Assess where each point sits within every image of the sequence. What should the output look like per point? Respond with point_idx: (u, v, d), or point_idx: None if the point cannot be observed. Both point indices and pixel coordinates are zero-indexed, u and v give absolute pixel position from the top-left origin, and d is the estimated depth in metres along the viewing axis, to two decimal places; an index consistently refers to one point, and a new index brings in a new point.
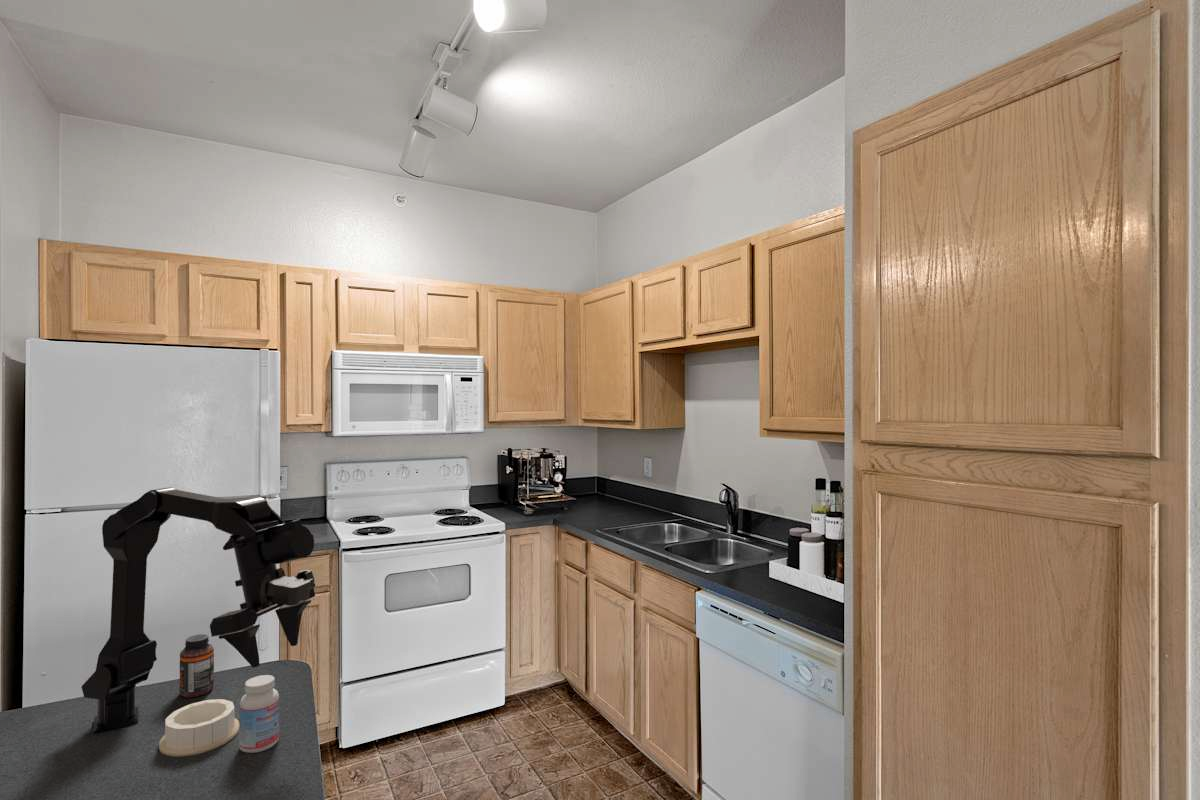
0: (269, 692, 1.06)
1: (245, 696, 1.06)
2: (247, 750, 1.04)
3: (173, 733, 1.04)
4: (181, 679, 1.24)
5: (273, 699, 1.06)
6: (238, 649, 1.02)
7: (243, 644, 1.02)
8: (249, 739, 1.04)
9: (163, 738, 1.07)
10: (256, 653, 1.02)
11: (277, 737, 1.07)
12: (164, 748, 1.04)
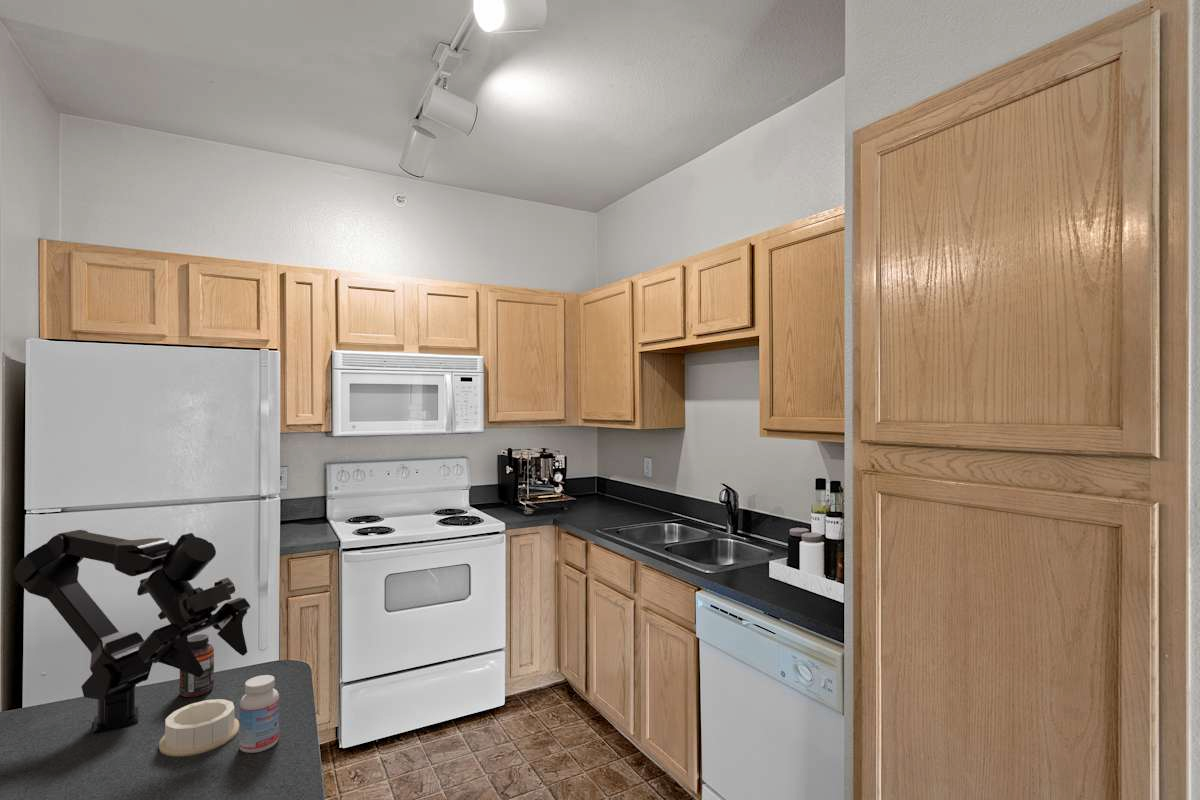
0: (269, 692, 1.06)
1: (245, 696, 1.06)
2: (247, 750, 1.04)
3: (173, 733, 1.04)
4: (181, 679, 1.24)
5: (273, 699, 1.06)
6: (178, 666, 1.04)
7: (180, 659, 1.04)
8: (249, 739, 1.04)
9: (163, 738, 1.07)
10: (195, 662, 1.04)
11: (277, 737, 1.07)
12: (164, 748, 1.04)
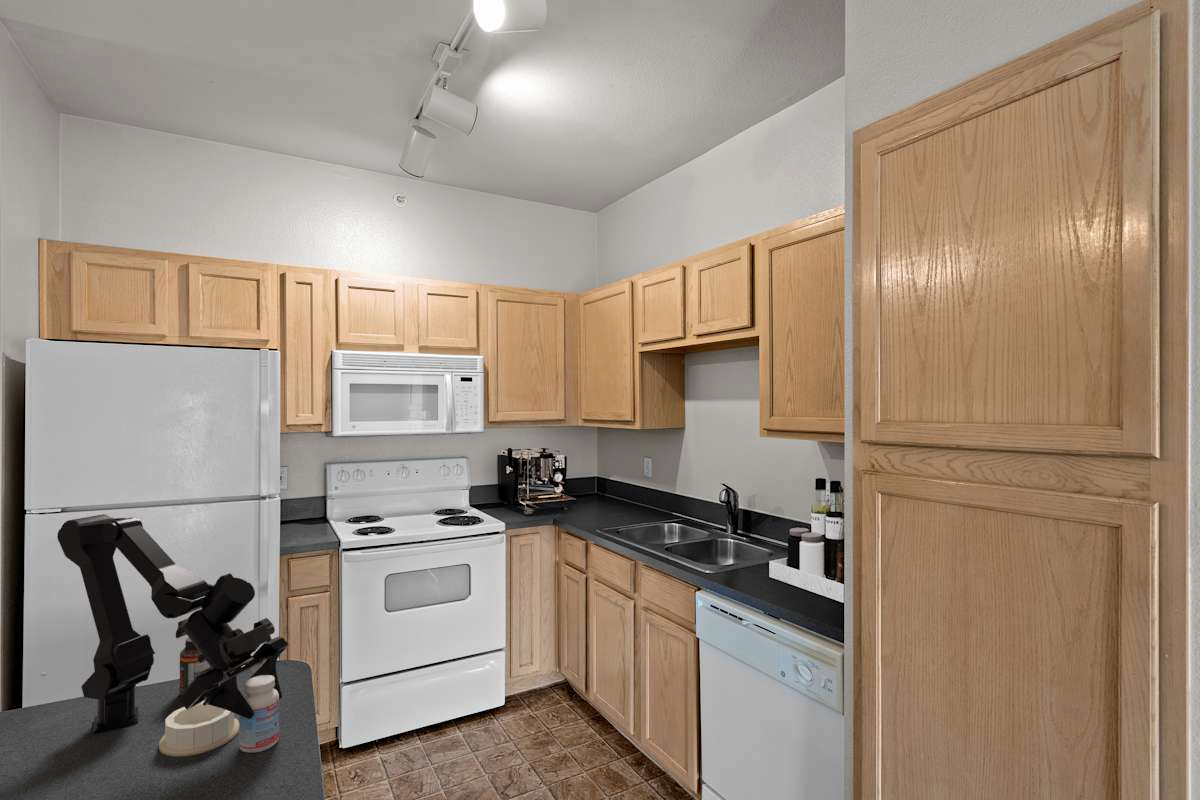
0: (269, 692, 1.06)
1: (245, 696, 1.06)
2: (247, 750, 1.04)
3: (173, 733, 1.04)
4: (181, 679, 1.24)
5: (273, 699, 1.06)
6: (228, 708, 1.03)
7: (230, 701, 1.03)
8: (249, 738, 1.04)
9: (163, 738, 1.07)
10: (245, 704, 1.03)
11: (277, 737, 1.07)
12: (164, 748, 1.04)
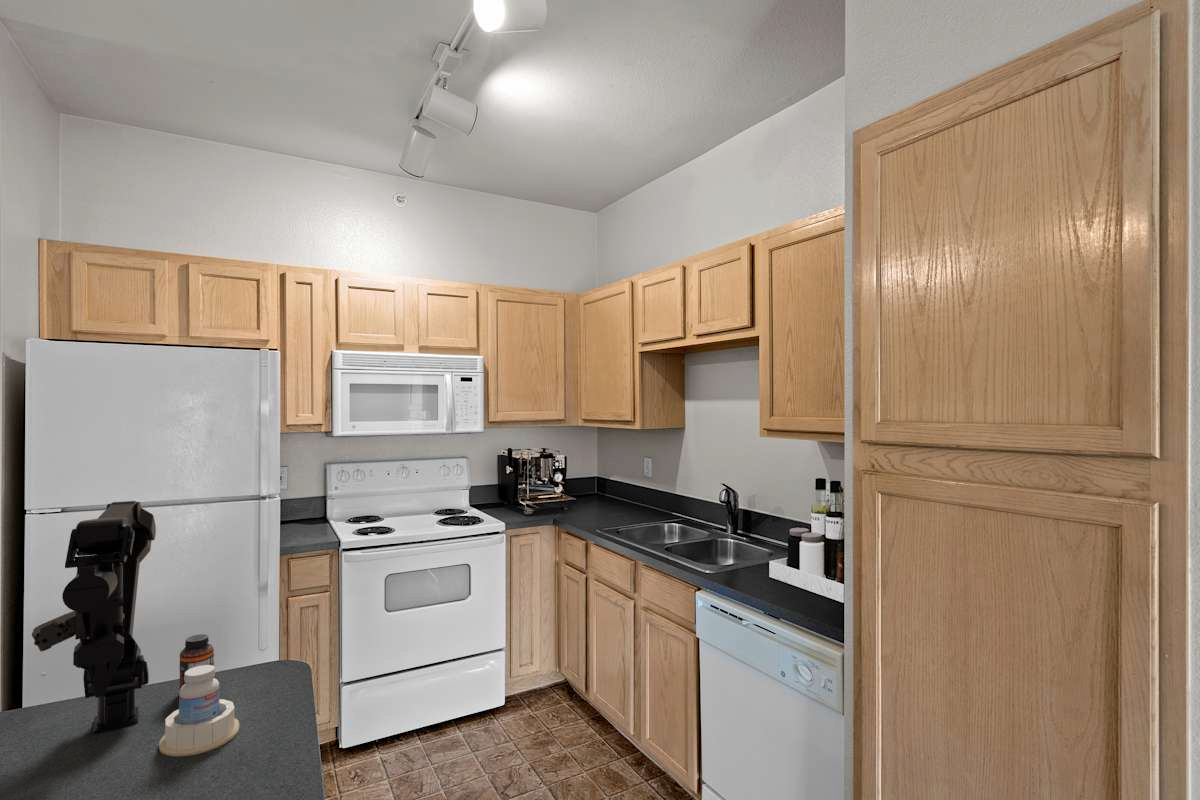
0: (208, 681, 1.08)
1: (184, 685, 1.08)
2: None
3: (173, 733, 1.04)
4: (181, 679, 1.24)
5: (212, 689, 1.08)
6: None
7: None
8: None
9: (163, 738, 1.07)
10: None
11: None
12: (164, 748, 1.04)
